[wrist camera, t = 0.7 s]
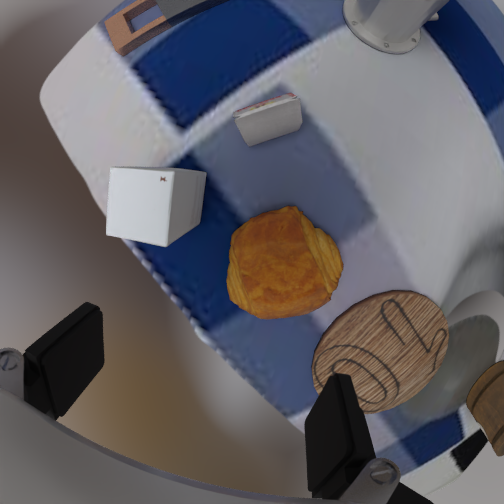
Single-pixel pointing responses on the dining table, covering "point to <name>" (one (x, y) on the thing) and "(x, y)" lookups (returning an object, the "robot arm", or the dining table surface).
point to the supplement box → (154, 203)
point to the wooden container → (490, 405)
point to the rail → (174, 11)
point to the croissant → (282, 265)
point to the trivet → (384, 348)
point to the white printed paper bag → (269, 119)
